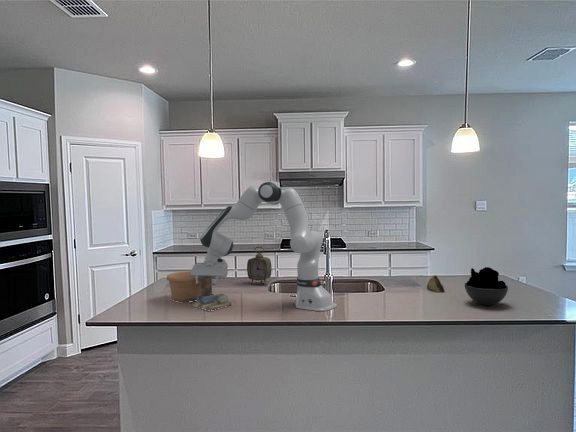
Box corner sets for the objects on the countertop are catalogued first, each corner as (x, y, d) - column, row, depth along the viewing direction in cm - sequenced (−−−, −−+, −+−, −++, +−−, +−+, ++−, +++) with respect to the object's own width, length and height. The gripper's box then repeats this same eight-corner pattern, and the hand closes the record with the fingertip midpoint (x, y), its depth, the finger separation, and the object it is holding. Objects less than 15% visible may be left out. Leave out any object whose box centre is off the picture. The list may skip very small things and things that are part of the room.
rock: (421, 284, 244) (426, 286, 234) (429, 273, 244) (434, 274, 234) (436, 295, 243) (441, 297, 233) (444, 284, 243) (450, 285, 233)
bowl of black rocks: (508, 302, 210) (508, 266, 209) (507, 311, 193) (507, 273, 192) (467, 297, 220) (467, 263, 219) (462, 306, 203) (462, 270, 202)
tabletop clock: (247, 284, 265) (246, 247, 264) (253, 282, 273) (252, 245, 272) (267, 286, 259) (266, 247, 258) (273, 283, 267) (272, 246, 266)
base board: (231, 305, 215) (231, 294, 214) (210, 311, 204) (209, 299, 204) (213, 300, 225) (213, 290, 225) (192, 306, 215) (191, 295, 215)
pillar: (211, 294, 216) (211, 277, 216) (208, 296, 212) (208, 279, 211) (204, 293, 217) (203, 277, 217) (200, 295, 213) (200, 279, 212)
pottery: (197, 304, 218) (196, 278, 217) (160, 303, 222) (159, 277, 221) (212, 295, 239) (211, 271, 238) (178, 294, 243) (177, 270, 243)
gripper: (192, 259, 222) (185, 280, 213) (227, 259, 218) (221, 281, 209) (196, 266, 227) (189, 287, 218) (230, 266, 223) (224, 288, 214)
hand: (205, 284), depth 214 cm, fingers open, 8 cm apart
